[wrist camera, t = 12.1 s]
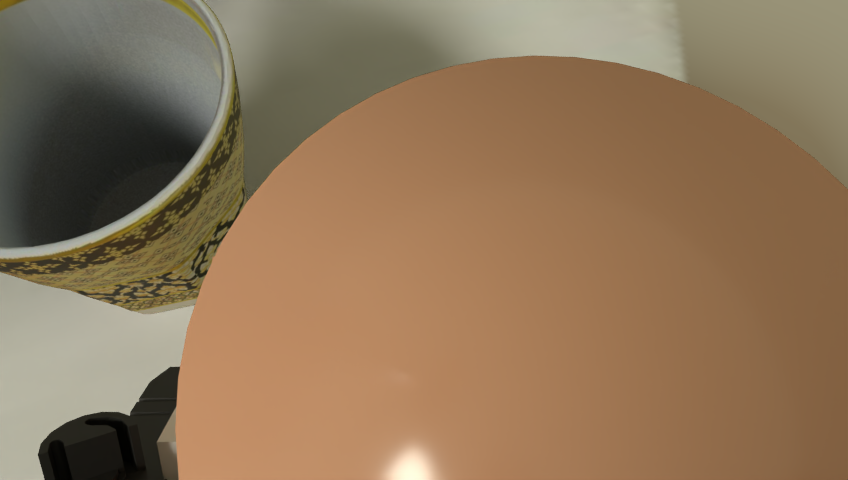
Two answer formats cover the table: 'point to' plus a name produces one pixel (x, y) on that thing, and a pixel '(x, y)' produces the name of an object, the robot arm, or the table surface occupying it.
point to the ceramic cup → (117, 147)
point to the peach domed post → (527, 292)
